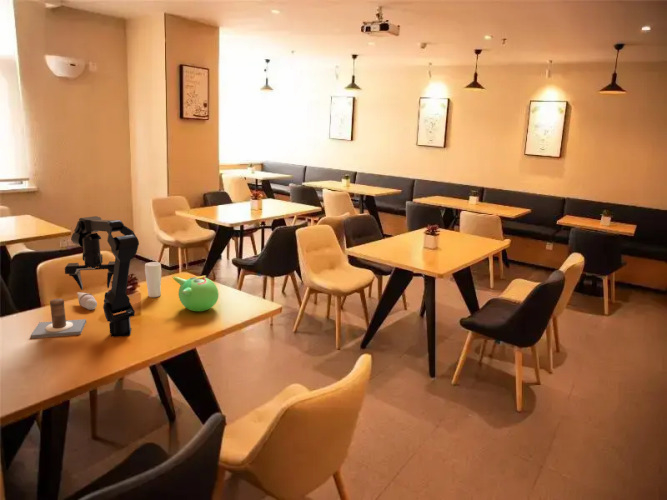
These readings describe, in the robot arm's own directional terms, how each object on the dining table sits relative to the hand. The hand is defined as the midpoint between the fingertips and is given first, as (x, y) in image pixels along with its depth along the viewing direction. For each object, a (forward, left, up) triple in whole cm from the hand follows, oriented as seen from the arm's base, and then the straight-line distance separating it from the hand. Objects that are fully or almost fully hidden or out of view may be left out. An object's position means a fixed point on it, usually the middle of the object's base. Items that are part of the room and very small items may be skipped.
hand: (95, 288), depth 190 cm
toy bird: (-38, -4, -13) cm, 40 cm away
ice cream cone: (+7, -17, -13) cm, 23 cm away
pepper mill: (+12, +7, -12) cm, 18 cm away
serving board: (+12, +7, -13) cm, 19 cm away
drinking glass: (-20, -25, -13) cm, 35 cm away
